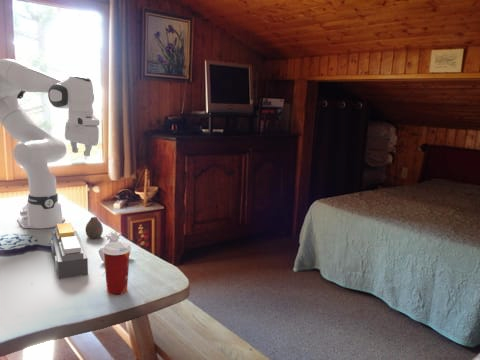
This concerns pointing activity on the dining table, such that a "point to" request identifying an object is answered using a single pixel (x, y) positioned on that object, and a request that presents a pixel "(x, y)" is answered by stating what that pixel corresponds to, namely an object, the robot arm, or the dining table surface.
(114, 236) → the bust
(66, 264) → the power strip
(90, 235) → the vase
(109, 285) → the coffee cup
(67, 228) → the amber switch
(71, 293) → the dining table surface
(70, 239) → the white flat block
